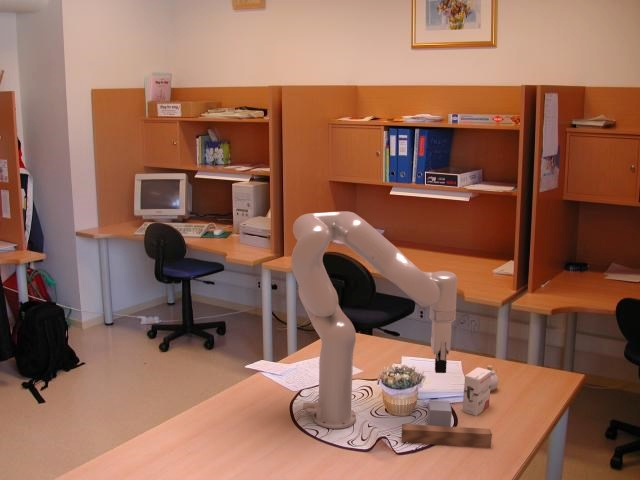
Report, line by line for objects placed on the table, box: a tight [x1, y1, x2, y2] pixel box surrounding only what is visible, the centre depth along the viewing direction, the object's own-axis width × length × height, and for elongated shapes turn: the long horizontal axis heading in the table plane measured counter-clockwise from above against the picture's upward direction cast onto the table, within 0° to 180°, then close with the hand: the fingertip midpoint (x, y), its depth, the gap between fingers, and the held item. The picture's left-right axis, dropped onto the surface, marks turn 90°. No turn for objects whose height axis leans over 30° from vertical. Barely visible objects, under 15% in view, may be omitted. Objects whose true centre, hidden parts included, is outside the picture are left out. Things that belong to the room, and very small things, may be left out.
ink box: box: [461, 367, 492, 417], centre depth 216 cm, size 9×5×12 cm, turn 141°
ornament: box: [486, 363, 499, 392], centre depth 229 cm, size 6×7×10 cm
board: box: [401, 423, 493, 449], centre depth 198 cm, size 24×3×4 cm, turn 86°
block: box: [427, 399, 453, 427], centre depth 207 cm, size 6×6×6 cm
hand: (440, 371), depth 215 cm, fingers closed
